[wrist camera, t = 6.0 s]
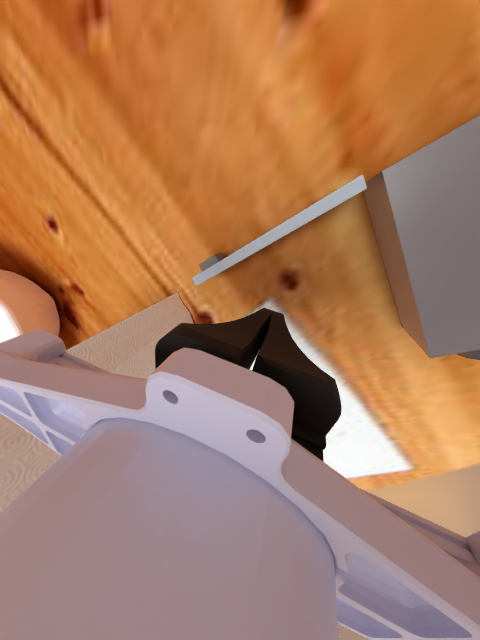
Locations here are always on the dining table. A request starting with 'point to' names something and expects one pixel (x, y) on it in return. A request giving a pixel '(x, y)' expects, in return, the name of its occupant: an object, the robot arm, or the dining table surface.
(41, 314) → the bowl
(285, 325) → the robot arm
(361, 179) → the side door
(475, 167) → the box
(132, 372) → the paper towel roll
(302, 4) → the dining table surface
